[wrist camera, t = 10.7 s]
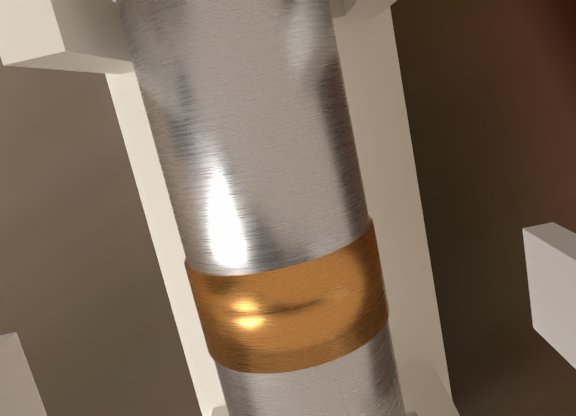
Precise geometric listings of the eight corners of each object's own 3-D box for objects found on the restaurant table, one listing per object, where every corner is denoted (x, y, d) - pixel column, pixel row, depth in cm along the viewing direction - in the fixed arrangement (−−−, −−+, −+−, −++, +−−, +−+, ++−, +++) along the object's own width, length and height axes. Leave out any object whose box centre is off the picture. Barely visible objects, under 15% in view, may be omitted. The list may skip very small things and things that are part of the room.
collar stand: (93, 6, 22) (-64, -60, 12) (374, -59, 21) (447, -184, 11) (218, 448, 27) (177, 657, 17) (449, 406, 26) (544, 596, 16)
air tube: (125, -90, 18) (21, -177, 12) (303, -138, 17) (290, -259, 11) (286, 530, 23) (272, 686, 17) (424, 514, 23) (459, 671, 17)
